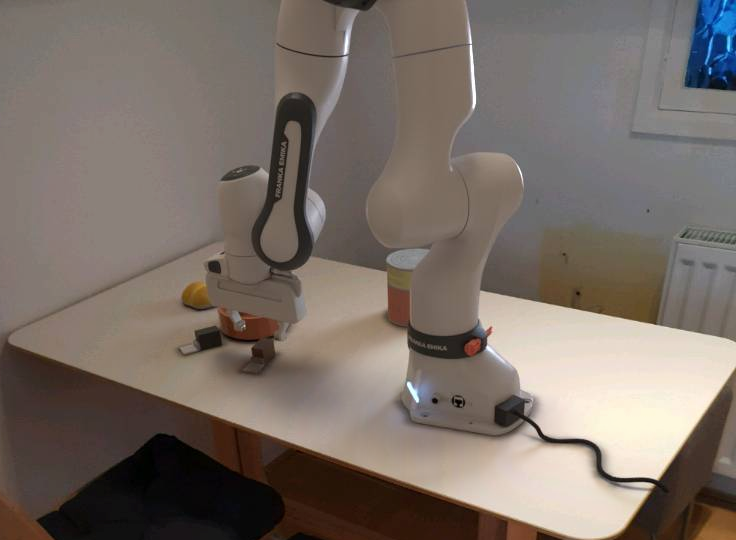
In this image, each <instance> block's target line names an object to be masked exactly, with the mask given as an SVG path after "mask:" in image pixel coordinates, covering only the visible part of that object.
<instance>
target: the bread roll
mask: <svg viewBox="0 0 736 540" xmlns="http://www.w3.org/2000/svg"><path fill="white" fill-rule="evenodd" d="M181 300H182V302H183V304H185V305H187V306H188V307H192V308H194V309H197V310H204V309H210V308H211V309H212V308H214V307H215V306H213V305H212V304H211V302H210V301H209V299H208V294H207V288H206V282H204V281H195V282H192V283H189V284H188V285H187V286H186V287H185V288H184V289H183V291H182V293H181Z"/></svg>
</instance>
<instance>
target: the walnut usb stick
mask: <svg viewBox="0 0 736 540" xmlns="http://www.w3.org/2000/svg"><path fill="white" fill-rule="evenodd" d="M250 351H251V357H250V362H249V363H248V364H247V365H246V366H244V367H243V368H242V372H246V373H251V374H258V373H259V372H260V371H261V370H262V369H263V368H264V367H265V365H266V364H268V362H269V361H270V360H271V359H272V358H274V356H276V347H275V338H269V337H267V338H261V339H258V341H257V342H256V343H254V344H253V345H252V346H251V347H250Z"/></svg>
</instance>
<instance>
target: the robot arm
mask: <svg viewBox="0 0 736 540" xmlns="http://www.w3.org/2000/svg"><path fill="white" fill-rule="evenodd" d="M370 9H375V10H377V11H378V12H379V13H380V14H381V15H382V17H383V18H384V21H385V23H386V26H387V30H388V36H389V45H390V46H389V47H390V54H391V63H392V73H393V82H394V94H395V107H396V109H395V111H396V121H395V122H396V123H395V124H396V125H395V133H394V139H393V143H392V147H391V150H390V154H389V157H388V160H387V162H386V164H385V166H384V169H383V170H382V172H381V173H380V175H379V176H378V178H377V179H376V180H375V182H374V183H373V184H372V186H371V187H370V190H368V191H369V192H368V195H367V198H366V202H365V216H366V217H365V218H366V222H367V225H368V228H369V230H370V232H371V233H372V235H373V236H374V238H375V239H376V240H377V241H378V242H379V244H381V245H382V246H384V247H385V248H388V249H410V248H422V247H425V246H428V245H431V246H430V250H429V252H428V253H427V255H426V256H425V257H424V258H423V259H422V260H421V261H420V262H419V263H418V265H417V266H416V267H415V269H414V270H413V272H412V275H411V278H410V319H409V320H408V325H407V327H406V329H407V331H406V335H407V336H406V342H407V348H408V362H407V368H406V375H405V381H404V385H403V389H402V391H401V394H400V400H401V403H402V405H403V406H404V407H405V408H406V409H407V410H408V412H409V416H410V417H409V418H410V420H411V422H414V423H417V424H423V425H428V426H434V427H441V428H446V429H447V428H448V429H453V430H459V431H464V432H465V431H466V432H471V433H476V434H482V435H488V436H494V437H495V436H501V435H504V434H507V433H509V432H511V431H513V430H515V429H516V428H518V427H519V426H520V425H521V424H523V422H525V423H527V424H529V425H530V426H531V427H532V428H534V430H535V432H536V433H537V435H538V436H539V438H540V439H542V440H544V441H546V442H548V443H552V444H582V445H587V446H589V447H590V448H592V449H593V450H594V451H595V454H596V455H595V456H596V462H595V463H596V470H597V472H598V473H599V475H601V476H602V477H603V478H604V479H605V480H608V481H610V482H613V483H621V484H628V483H629V484H630V483H631V484H632V483H646V484H647V483H648V484H652V485H655V486H657V487H658V488H659V489H661V490H662V491H663V492H664V493H667V494H668V493H671V492H670V491H671V490H670V489H669V488H668V487H667V486H666V484H664V483H663V482H662V481H660V480H657V479H655V478H652V477H646V476H643V477H642V476H641V477H640V476H637V477H635V476H633V477H618V476H613V475H611V474H609V473H607V472H606V471H605V470H604V468H603V466H602V451H601V449H600V447H599V446H598V445H597V444H596V443H594V442H593V441H591V440H589V439H585V438H553V437H551V436H547V435H545V433H543V431H542V429H541V427H540V426H539V424H537V423H536V422H535V421H534V420H533V419H531V418H530V417H529V416H530V414H531V412H532V410H533V407H534V399H533V395H532V394H531V393H529V392H527V391H525V390H522V389H521V382H520V381H521V380H520V375H519V372H518V370H517V369H516V367H515V366H514V365H512V364H511V363H510V362H509V361H508V360H507V359H506V358H504V357H503V356H502V355H501V354H500V353H499V352H498V351H497V350H496V349H495V348H493V347H492V346H491V345H490V344H489V343H488V338H489V337H490V336H491V335H492V333H493V331H492V330H493V326H492V325H491V326H490V327H488V328H487V329H486V330H485V328H484V327H483V325H482V322H481V320H480V318H479V311H480V297H481V287H482V280H483V279H482V278H483V274H484V270H485V267H486V263H487V261H488V258H489V255H490V253H491V251H492V249H493V246H494V245H495V242H496V241H497V238H498V236H499V234H500V233H501V231H502V230H503V228H504V227H505V225H506V224H507V223H508V221H509V220H510V219H512V217H513V216H514V215H515V214H516V213H517V211H518V210H519V208H520V207H521V204H522V201H523V197H524V191H525V190H524V188H525V187H524V185H525V184H524V178H523V173H522V171H521V168H520V167H519V165H518V163H517V162H516V161H515V160H514V158H513V157H511V156H510V155H508V154H506V153H503V152H493V151H492V152H490V151H486V152H485V151H477V152H476V151H475V152H472V153H467V154H463V155H459V156H454V157H451V156H452V155H451V154H452V147H453V144H454V141H455V138H456V136H457V134H458V133H459V131H460V129H461V128H462V127H463V125H465V124H466V123H467V122H468V120H469V119H470V118H471V117H472V115H473V113H474V111H475V108H476V103H477V95H476V93H477V92H476V83H475V81H476V80H475V67H474V53H473V45H472V44H473V40H472V32H471V31H472V30H471V24H470V17H469V11H468V4H467V0H281V1H280V6H279V12H278V17H277V26H276V34H275V46H274V50H275V51H274V75H273V76H274V77H273V78H274V81H273V82H274V106H273V109H274V111H273V119H274V120H273V135H272V145H271V155H270V161H269V163H270V164H269V173H268V172H267V171H266V170H265V169H263V168H262V167H261V166H260V165H254V164H253V165H252V164H251V165H243V166H239V167H235V168H233V169H231V170H229V171H228V172H226V173H225V174H223V176H222V177H221V178H220V180H219V181H218V185H217V205H218V207H217V208H218V216H219V223H220V227H221V229H222V232H223V234H224V235H223V236H224V243H223V250H221V251H218V252H217V253H215V254H213V255H211V256H210V257H208V258H207V259H205V260H204V261H203V267H204V270H205V271H206V274H205V283H206V288H207V294H208V299H209V301H210V302H211V304H212V305H213V306H214V307H216V308H218V307H221V308H225V309H226V310H227V314H228V316H229V317H230V319H231V320H232V322H233V323H234V330H236V331H240V332H242V331H243V330H245V329H246V325H245V320H242V319H241V317H240V315H239V313H238V312H242V313H247V314H251V315H256V316H260V317H264V318H269V319H273V320H277V324H278V325H279V326H280V328H279V329H278V330H277V331H275V332H274V336H273V337H274V341H276V342H277V341H278V342H284V341H286V340H287V330H288V328H289V325H290V324H291V325H296V324H298V323H299V322H300V321H302V320H304V318H305V317H306V316H307V305H306V300H305V295H304V290H303V285H302V280H301V278H299V277H298V276H297V275H296V274H295V273H294V270H297V269H300V268H301V267H303V266H304V265H305V264H306V263H308V261H309V259H310V258H311V256H312V252H313V249H314V245H316V242H317V240H318V239H319V237H320V234H321V233H322V230H323V228H324V226H325V224H326V221H327V208H326V205H325V203H324V200H323V198H322V197H321V195H320V193H318V192H317V191H316V190H314V189H313V188H311V187H310V180H311V175H312V174H311V173H312V166H313V159H314V153H315V149H316V146H317V143H318V141H319V138H320V135H321V133H322V130H323V129H324V127H325V125H326V124H327V121H328V119H329V118H330V116H331V114H332V113H333V111H334V109H335V107H336V106H337V103H338V101H339V98H340V95H341V92H342V89H343V87H344V86H343V85H344V82H345V78H346V74H347V69H348V64H349V56H350V48H351V47H350V45H351V36H352V29H353V25H354V21H355V19H356V17H357V15H358V14H359V13H360V12H361V11H362V12H368V11H369V10H370Z"/></svg>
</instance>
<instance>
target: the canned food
mask: <svg viewBox="0 0 736 540" xmlns="http://www.w3.org/2000/svg"><path fill="white" fill-rule="evenodd" d="M430 249H431V248H430ZM430 249H429V248H423V247H417V248H402V249H399V250H396V251H394V252H391V253H390V254H388V255H387V256H386V259H385V261H386V282H387V283H386V284H387V285H386V286H387V319H388V320H389V321H390V322H391V323H393V324H395V325H397V326H401V327H405V328H407V325H408V320H409V319H410V278H411V275H412V272H413V270H414V269H415V267H416V266H417V265H418V263H419V262H420V261H421V260H422V259H423V258H424V257H425V256H426V255H427V253H428V252H429V250H430Z"/></svg>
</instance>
